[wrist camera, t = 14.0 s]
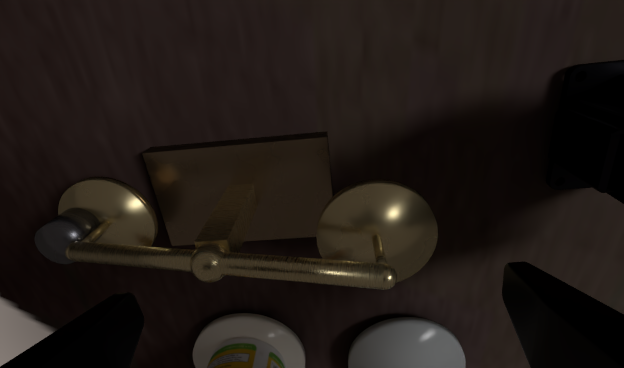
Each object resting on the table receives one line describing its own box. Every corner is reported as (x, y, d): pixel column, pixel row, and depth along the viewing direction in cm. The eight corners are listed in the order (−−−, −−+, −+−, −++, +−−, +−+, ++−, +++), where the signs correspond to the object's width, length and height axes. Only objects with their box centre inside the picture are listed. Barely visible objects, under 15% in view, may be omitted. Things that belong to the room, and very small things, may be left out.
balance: (409, 124, 19) (467, 202, 11) (408, 221, 21) (455, 344, 13) (78, 153, 21) (-85, 241, 12) (113, 241, 23) (-4, 361, 15)
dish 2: (463, 307, 24) (469, 322, 23) (455, 387, 27) (461, 403, 26) (343, 313, 25) (344, 327, 23) (350, 389, 28) (351, 406, 27)
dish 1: (299, 303, 25) (297, 318, 23) (311, 382, 28) (310, 398, 27) (187, 309, 25) (180, 323, 24) (212, 385, 29) (207, 400, 27)
